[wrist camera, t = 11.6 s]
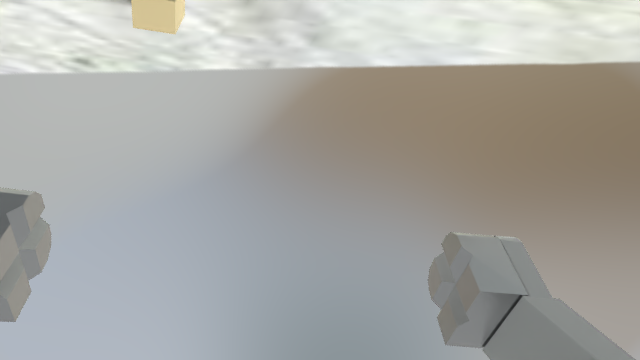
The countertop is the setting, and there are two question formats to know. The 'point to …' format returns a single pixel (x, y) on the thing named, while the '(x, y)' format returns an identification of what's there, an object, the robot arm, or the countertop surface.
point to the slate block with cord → (158, 15)
